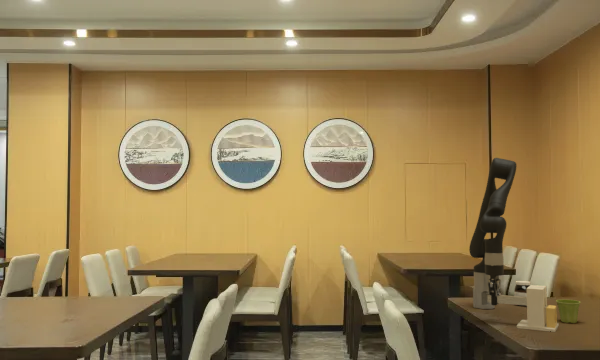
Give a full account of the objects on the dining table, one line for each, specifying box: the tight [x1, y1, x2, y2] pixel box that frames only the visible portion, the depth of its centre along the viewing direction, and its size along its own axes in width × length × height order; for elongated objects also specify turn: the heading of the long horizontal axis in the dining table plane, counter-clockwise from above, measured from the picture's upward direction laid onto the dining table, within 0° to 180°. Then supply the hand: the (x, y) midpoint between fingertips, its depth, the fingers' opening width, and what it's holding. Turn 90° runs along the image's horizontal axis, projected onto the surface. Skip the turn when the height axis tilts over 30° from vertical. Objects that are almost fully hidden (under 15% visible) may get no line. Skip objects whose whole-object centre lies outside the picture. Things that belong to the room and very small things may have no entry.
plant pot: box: [555, 299, 581, 324], centre depth 225 cm, size 9×9×9 cm
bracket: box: [516, 284, 559, 333], centre depth 216 cm, size 14×13×16 cm
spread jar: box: [513, 280, 531, 307], centre depth 263 cm, size 12×11×12 cm
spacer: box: [546, 304, 558, 328], centre depth 213 cm, size 3×8×8 cm, turn 149°
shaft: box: [481, 291, 545, 306], centre depth 221 cm, size 24×5×5 cm, turn 59°
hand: (495, 304), depth 224 cm, fingers closed on shaft, 3 cm apart
